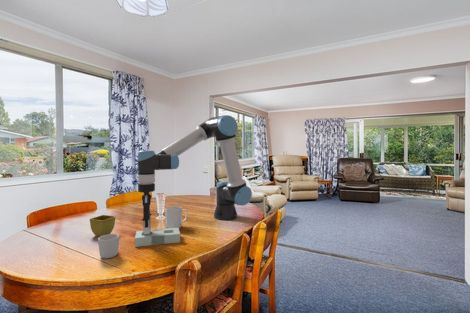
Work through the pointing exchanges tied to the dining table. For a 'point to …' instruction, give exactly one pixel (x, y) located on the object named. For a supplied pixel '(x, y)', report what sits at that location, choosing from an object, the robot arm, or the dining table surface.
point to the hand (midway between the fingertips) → (146, 231)
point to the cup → (108, 245)
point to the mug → (174, 217)
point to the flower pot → (102, 224)
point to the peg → (150, 227)
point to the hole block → (157, 237)
